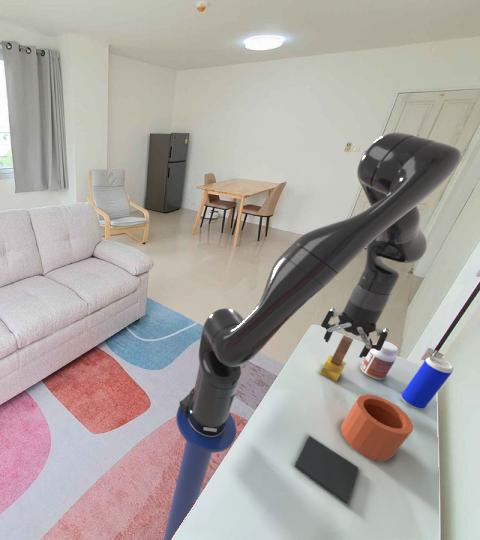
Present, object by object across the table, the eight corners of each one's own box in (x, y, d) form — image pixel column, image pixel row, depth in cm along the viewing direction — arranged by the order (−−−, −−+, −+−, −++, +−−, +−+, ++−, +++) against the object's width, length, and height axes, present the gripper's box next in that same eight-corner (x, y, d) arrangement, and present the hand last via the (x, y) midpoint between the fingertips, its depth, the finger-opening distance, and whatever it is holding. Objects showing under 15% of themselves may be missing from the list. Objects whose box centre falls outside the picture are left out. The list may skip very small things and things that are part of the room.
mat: (294, 466, 66) (295, 464, 66) (308, 437, 72) (309, 435, 72) (346, 504, 60) (347, 502, 59) (357, 468, 66) (358, 467, 66)
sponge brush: (319, 373, 91) (336, 338, 85) (323, 366, 94) (340, 332, 88) (336, 382, 88) (355, 346, 82) (339, 374, 91) (358, 339, 85)
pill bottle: (389, 378, 90) (407, 351, 85) (373, 381, 89) (390, 354, 84) (370, 364, 96) (385, 337, 91) (355, 366, 94) (369, 339, 89)
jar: (336, 438, 72) (352, 411, 68) (346, 413, 79) (361, 387, 74) (388, 470, 66) (410, 443, 61) (394, 441, 72) (415, 414, 68)
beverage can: (425, 402, 83) (454, 363, 76) (423, 413, 80) (455, 373, 73) (401, 391, 86) (428, 352, 79) (399, 401, 83) (427, 362, 76)
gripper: (332, 296, 81) (312, 341, 88) (399, 319, 72) (370, 368, 79) (339, 287, 86) (320, 331, 93) (402, 308, 77) (375, 355, 84)
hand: (343, 348), depth 86 cm, fingers open, 8 cm apart
